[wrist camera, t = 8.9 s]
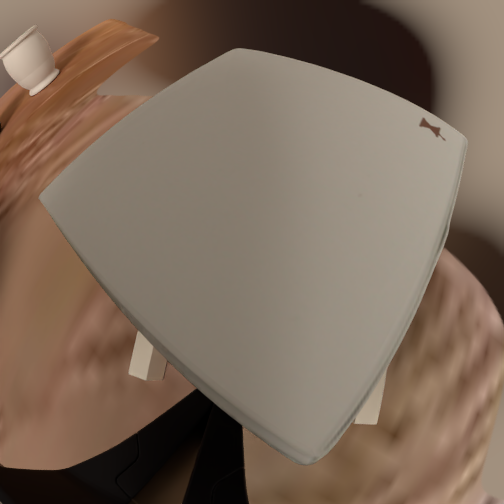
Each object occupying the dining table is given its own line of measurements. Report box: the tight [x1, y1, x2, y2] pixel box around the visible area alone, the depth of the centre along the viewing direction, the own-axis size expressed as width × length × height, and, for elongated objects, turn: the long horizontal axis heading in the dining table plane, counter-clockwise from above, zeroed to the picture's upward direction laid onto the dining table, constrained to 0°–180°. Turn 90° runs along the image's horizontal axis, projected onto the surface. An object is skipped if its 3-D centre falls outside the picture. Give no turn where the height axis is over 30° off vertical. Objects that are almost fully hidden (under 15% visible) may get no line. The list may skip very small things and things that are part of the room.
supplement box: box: [39, 48, 468, 465], centre depth 10 cm, size 7×7×13 cm
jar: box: [0, 25, 59, 96], centre depth 34 cm, size 11×10×15 cm
